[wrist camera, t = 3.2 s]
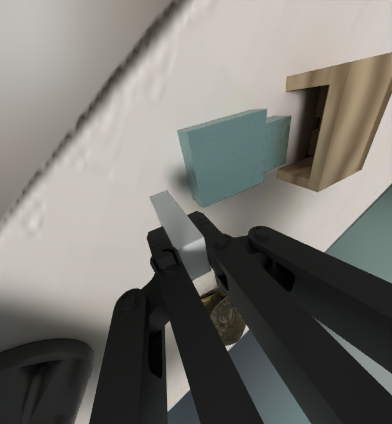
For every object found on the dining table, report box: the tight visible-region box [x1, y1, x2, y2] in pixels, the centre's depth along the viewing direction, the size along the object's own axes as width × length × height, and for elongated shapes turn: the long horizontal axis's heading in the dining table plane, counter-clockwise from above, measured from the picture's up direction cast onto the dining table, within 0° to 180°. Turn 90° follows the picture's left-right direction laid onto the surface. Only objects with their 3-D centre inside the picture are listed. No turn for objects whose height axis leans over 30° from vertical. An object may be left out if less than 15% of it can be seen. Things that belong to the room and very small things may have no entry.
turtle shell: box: [201, 291, 246, 346], centre depth 38 cm, size 16×9×20 cm
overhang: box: [277, 52, 392, 192], centre depth 23 cm, size 10×14×7 cm
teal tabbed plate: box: [177, 109, 291, 208], centre depth 21 cm, size 14×9×3 cm, turn 101°
